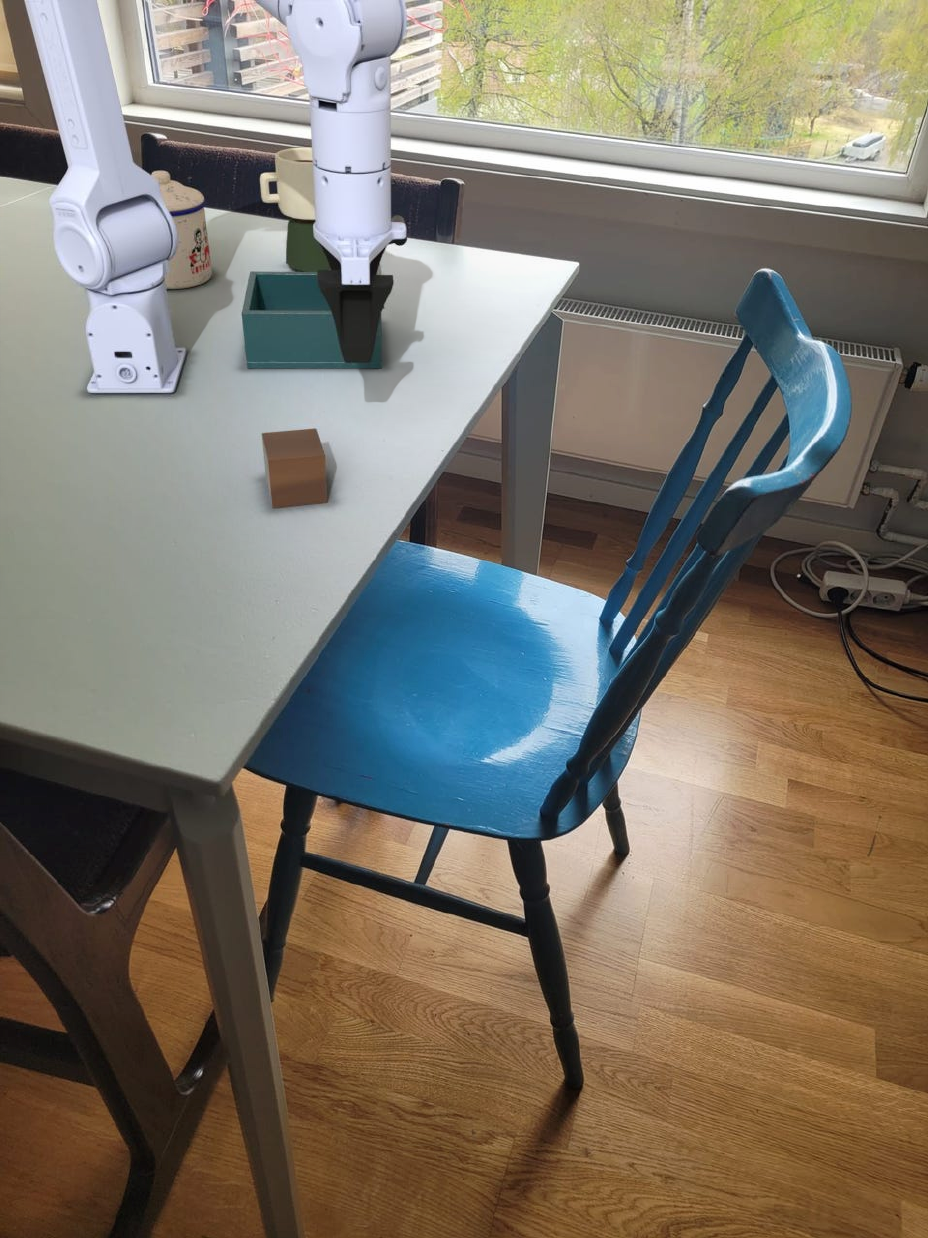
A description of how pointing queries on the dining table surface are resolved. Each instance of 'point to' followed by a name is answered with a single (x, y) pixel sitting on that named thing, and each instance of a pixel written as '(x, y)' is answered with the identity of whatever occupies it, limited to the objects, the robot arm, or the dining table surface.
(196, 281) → the teacup with lid
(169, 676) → the dining table surface
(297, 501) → the block
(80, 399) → the dining table surface
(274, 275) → the teal wooden box
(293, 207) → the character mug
